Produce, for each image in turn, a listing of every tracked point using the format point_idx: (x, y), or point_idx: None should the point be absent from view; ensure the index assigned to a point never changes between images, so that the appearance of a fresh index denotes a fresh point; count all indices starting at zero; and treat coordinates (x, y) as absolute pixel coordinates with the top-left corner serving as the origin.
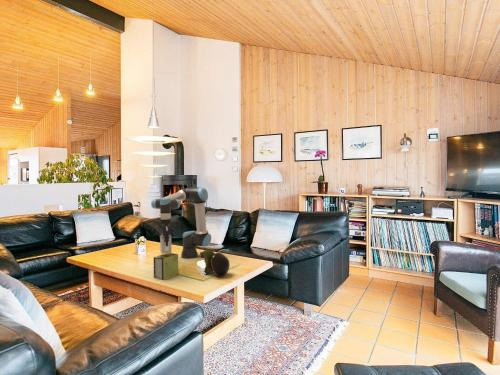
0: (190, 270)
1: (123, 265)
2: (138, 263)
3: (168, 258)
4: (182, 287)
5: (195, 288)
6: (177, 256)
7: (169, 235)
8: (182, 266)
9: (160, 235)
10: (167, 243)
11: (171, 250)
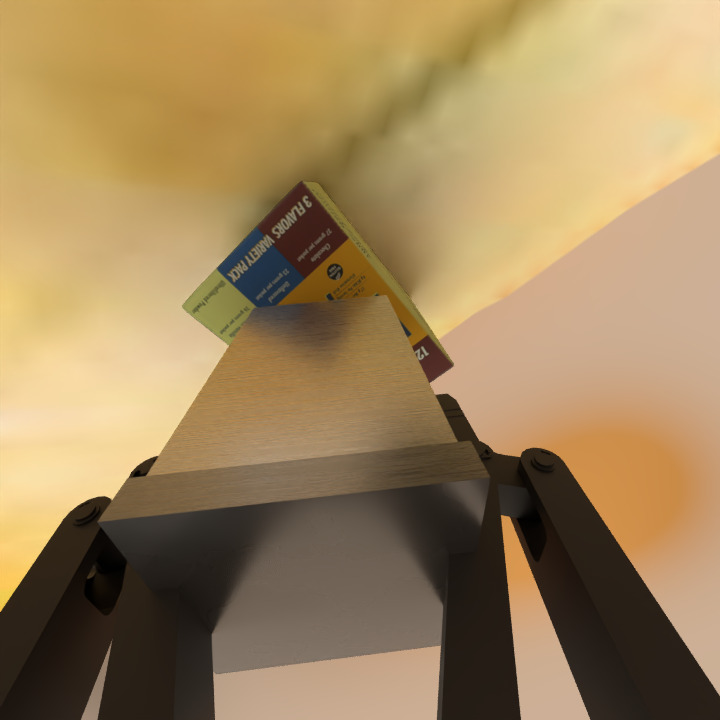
0: (221, 32)
1: (67, 497)
2: (9, 438)
3: (415, 313)
4: (611, 188)
5: (696, 87)
6: (317, 194)
7: (263, 531)
8: (66, 106)
9: (215, 669)
10: (470, 433)
11: (391, 305)
